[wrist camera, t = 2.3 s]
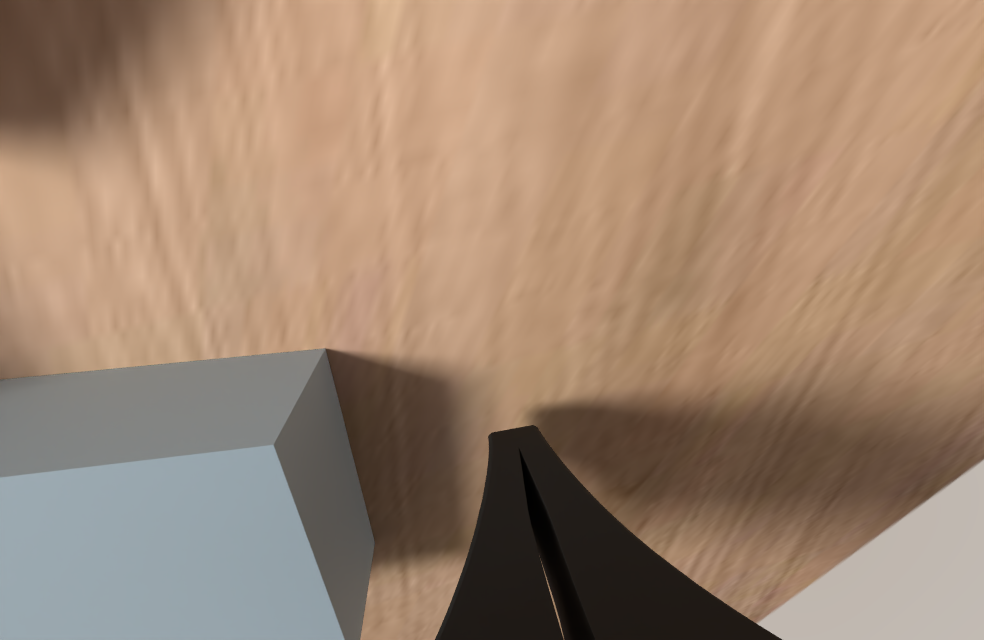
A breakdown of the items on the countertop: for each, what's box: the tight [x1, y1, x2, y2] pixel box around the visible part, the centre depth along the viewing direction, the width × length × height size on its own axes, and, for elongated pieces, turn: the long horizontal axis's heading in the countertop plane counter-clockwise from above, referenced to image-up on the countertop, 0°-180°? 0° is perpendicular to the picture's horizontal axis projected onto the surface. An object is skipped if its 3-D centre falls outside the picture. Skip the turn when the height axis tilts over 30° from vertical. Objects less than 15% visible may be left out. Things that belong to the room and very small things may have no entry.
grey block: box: [0, 349, 375, 640], centre depth 10 cm, size 8×8×4 cm
